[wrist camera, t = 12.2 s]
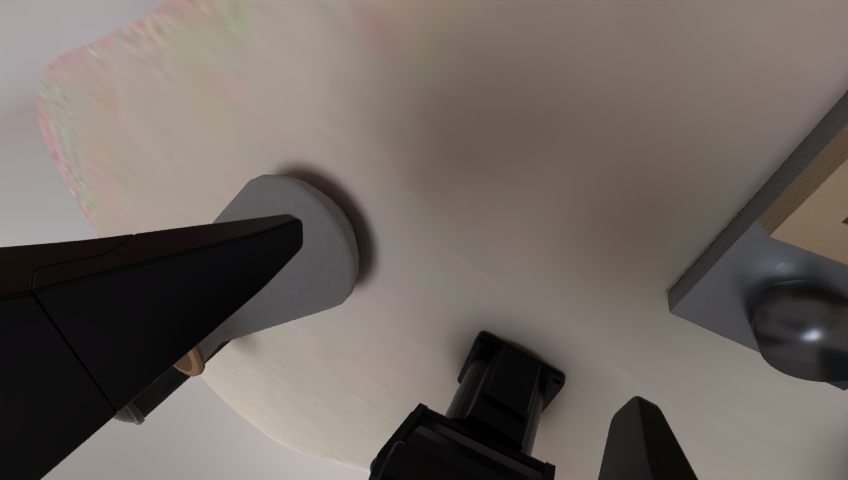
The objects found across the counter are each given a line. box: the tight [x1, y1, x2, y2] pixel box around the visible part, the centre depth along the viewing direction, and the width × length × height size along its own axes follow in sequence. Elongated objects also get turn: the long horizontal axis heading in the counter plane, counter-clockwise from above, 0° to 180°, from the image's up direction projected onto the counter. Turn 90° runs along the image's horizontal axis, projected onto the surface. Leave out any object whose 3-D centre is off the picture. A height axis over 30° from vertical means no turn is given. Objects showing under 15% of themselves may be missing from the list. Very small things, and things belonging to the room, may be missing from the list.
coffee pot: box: [173, 175, 359, 376], centre depth 26 cm, size 21×12×15 cm, turn 120°
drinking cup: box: [113, 340, 231, 425], centre depth 37 cm, size 8×8×20 cm
